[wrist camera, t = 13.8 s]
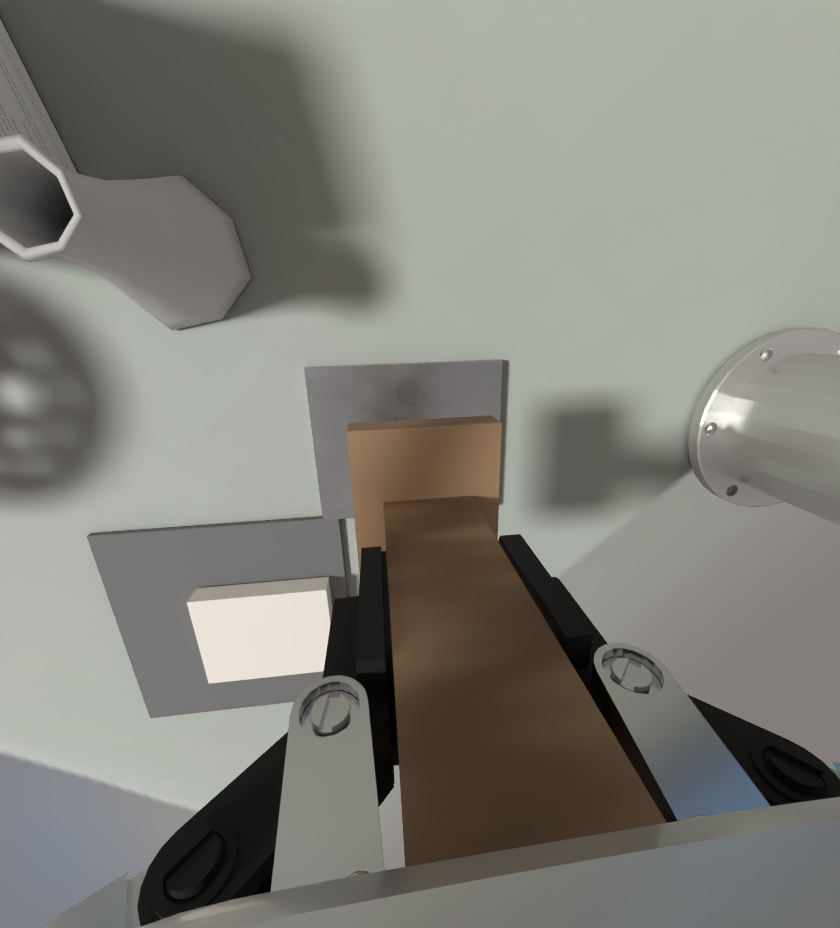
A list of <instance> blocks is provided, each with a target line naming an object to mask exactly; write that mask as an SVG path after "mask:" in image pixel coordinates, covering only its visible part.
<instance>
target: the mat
mask: <svg viewBox="0 0 840 928" xmlns="http://www.w3.org/2000/svg"><path fill="white" fill-rule="evenodd" d="M87 538H88V541H89V544H90V547H91V550H92V553H93V556H94V558H95V561H96V564H97V567H98V570H99V573H100V576H101V578H102V581H103V584H104V587H105V590H106V593H107V596H108V598H109V601H110V604H111V607H112V610H113V613H114V616H115V618H116V621H117V624H118V627H119V630H120V633H121V636H122V638H123V641H124V644H125V647H126V650H127V653H128V656H129V658H130V661H131V664H132V667H133V670H134V673H135V676H136V678H137V681H138V684H139V687H140V690H141V693H142V696H143V698H144V701H145V704H146V707H147V710H148V713H149V716H150V718H156V717H164V716H173V715H182V714H191V713H199V712H208V711H217V710H226V709H234V708H243V707H252V706H261V705H269V704H278V703H287V702H295V701H296V699H297V697H298V696H299V694H300V693H301V692H302V691H303V690H305V689H306V688H307V687H308V686H309V685H311V684H312V683H314V682H316V681H317V680H319V679H322V678H323V672H324V671H322V672H313V673H303V674H294V675H285V676H275V677H266V678H257V679H248V680H238V681H229V682H220V683H210V684H209V683H208V679H207V676H206V672H205V668H204V665H203V661H202V657H201V654H200V650H199V646H198V642H197V639H196V635H195V631H194V628H193V624H192V620H191V617H190V613H189V609H188V606H187V601H188V600H189V598H190V597H191V595H192V594H193V593H194V591H195V590H196V588H205V587H216V586H228V585H239V584H251V583H263V582H274V581H286V580H297V579H309V578H320V577H329V583H330V591H331V599H332V607H333V603H334V599H335V598H344V597H348V594H347V585H346V576H345V567H344V557H343V548H342V539H341V530H340V521H339V519H333V520H323V516H321V517H307V518H293V519H280V520H266V521H252V522H239V523H225V524H211V525H198V526H184V527H170V528H156V529H143V530H129V531H115V532H102V533H91V534H89V535H88V536H87Z"/></svg>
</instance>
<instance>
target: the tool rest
mask: <svg viewBox="0 0 840 928" xmlns="http://www.w3.org/2000/svg"><path fill="white" fill-rule="evenodd" d="M502 365H503V360H475V361H449V362H424V363H398V364H373V365H347V366H322V367H305V368H304V370H305V378H306V387H307V395H308V403H309V411H310V419H311V427H312V435H313V443H314V451H315V459H316V467H317V475H318V483H319V491H320V500H321V508H322V516H323V520H333V519H347V518H354V507H353V496H352V486H351V475H350V465H349V454H348V443H347V433H346V431H347V427H348V424H349V423H360V422H378V421H397V420H415V419H433V418H452V417H470V416H488V415H492V416H493V417H494V418H496V419H497V420H499V421H500V417H501V391H502Z"/></svg>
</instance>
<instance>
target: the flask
mask: <svg viewBox="0 0 840 928" xmlns="http://www.w3.org/2000/svg"><path fill="white" fill-rule="evenodd" d="M0 243H1V244H3V245H4V246H6V247H7V248H8V249H10V250H11V251H12V252H14V253H15V254H17V255H18V256H19V257H21V258H22V259H24V260H26V261H38V260H43V259H47V258H52V257H58V258H62V259H66V260H70V261H73V262H75V263H77V264H79V265H81V266H83V267H85V268H87V269H89V270H91V271H93V272H95V273H97V274H99V275H101V276H103V277H104V278H105V279H106V280H107V281H108V282H109V283H111V284H112V285H113V286H114V287H115V288H116V289H118V290H119V291H120V292H121V293H123V294H124V295H125V296H127V297H128V298H129V299H131V300H132V301H133V302H135V303H136V304H137V305H139V306H140V307H141V308H143V309H144V310H146V311H147V312H148V313H150V314H151V315H152V316H154V317H155V318H156V319H158V320H159V321H160V322H162V323H163V324H164V325H166V326H167V327H168V328H170V329H171V330H175V329H180V328H185V327H189V326H194V325H198V324H203V323H207V322H212V321H216V320H221V319H223V317H224V316H225V315H226V313H227V312H228V310H229V309H230V307H231V306H232V305H233V303H234V302H235V300H236V299H237V298H238V296H239V295H240V293H241V292H242V290H243V289H244V288H245V286H246V285H247V283H248V282H249V281H250V279H251V275H250V272H249V269H248V266H247V263H246V260H245V257H244V253H243V250H242V247H241V244H240V241H239V238H238V235H237V232H236V229H235V226H234V223H233V220H232V218H230V217H229V216H228V215H227V214H226V213H225V212H224V211H222V210H221V209H220V208H219V207H218V206H217V205H216V204H214V203H213V202H212V201H211V200H210V199H209V198H208V197H206V196H205V195H204V194H203V193H202V192H201V191H200V190H198V189H197V188H196V187H195V186H194V185H193V184H192V183H191V182H189V181H188V180H187V179H186V178H185V177H184V176H183V175H175V176H165V177H157V178H148V179H128V180H103V179H98V178H94V177H90V176H86V175H82V174H77V173H73V172H70V171H68V170H66V169H65V168H64V167H63V166H61V165H60V164H59V163H58V162H57V161H55V160H54V159H53V158H52V157H50V156H49V155H48V154H47V153H45V152H44V151H43V150H42V149H40V148H39V147H38V146H37V145H35V144H34V143H33V142H32V141H31V140H29V139H28V138H27V137H25V136H23V135H21V134H14V135H9V136H4V137H0Z"/></svg>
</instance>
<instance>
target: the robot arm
mask: <svg viewBox="0 0 840 928" xmlns="http://www.w3.org/2000/svg"><path fill="white" fill-rule="evenodd" d="M688 449H689V456H690V462H691V465H692V467H693V470H694V473H695V475H696V476H697V478H698V479H699V481H700V482H701V484H702V485H703V486H704V487H705V488H707V489H708V490H709V491H710V492H711V493H712V494H714V495H716V496H718V497H720V498H722V499H724V500H726V501H728V502H731V503H734V504H737V505H740V506H749V507H759V506H769V505H773V504H777V503H781V502H784V501H785V502H787V503H789V504H792V505H794V506H797V507H799V508H801V509H804V510H806V511H809V512H811V513H813V514H816V515H818V516H821V517H823V518H825V519H828V520H830V521H833V522H835V523H838V524H840V333H837V332H834V331H831V330H828V329H820V328H793V329H786V330H782V331H778V332H774V333H771V334H768V335H766V336H764V337H762V338H760V339H757V340H755V341H754V342H752V343H750V344H749V345H747V346H746V347H744V348H743V349H741V350H740V351H738V352H737V353H736V354H735V355H734V356H733V357H732V358H731V359H729V360H728V361H727V362H726V363H725V364H724V365H723V366H722V367H721V368H720V370H719V371H718V372H717V373H716V374H715V376H714V377H713V378H712V379H711V381H710V382H709V384H708V385H707V387H706V389H705V390H704V392H703V394H702V395H701V397H700V399H699V402H698V404H697V406H696V409H695V411H694V413H693V417H692V421H691V425H690V429H689V442H688ZM498 542H499V544H500V545H501V547H502V549H503V550H504V552H505V554H506V555H507V557H508V559H509V560H510V562H511V564H512V565H513V567H514V569H515V570H516V572H517V574H518V575H519V577H520V579H521V580H522V582H523V584H524V585H525V587H526V589H527V590H528V592H529V594H530V595H531V597H532V599H533V600H534V602H535V604H536V605H537V607H538V609H539V610H540V612H541V614H542V615H543V617H544V619H545V620H546V622H547V624H548V625H549V627H550V629H551V630H552V632H553V634H554V635H555V637H556V639H557V640H558V642H559V644H560V645H561V647H562V649H563V650H564V652H565V654H566V655H567V657H568V659H569V660H570V662H571V664H572V665H573V667H574V669H575V670H576V672H577V674H578V675H579V677H580V679H581V680H582V682H583V684H584V685H585V687H586V689H587V690H588V692H589V694H590V695H591V697H592V699H593V700H594V702H595V704H596V705H597V707H598V709H599V711H600V712H601V714H602V716H603V717H604V719H605V721H606V722H607V724H608V726H609V727H610V729H611V731H612V732H613V734H614V736H615V737H616V739H617V741H618V742H619V744H620V746H621V747H622V749H623V751H624V752H625V754H626V756H627V757H628V759H629V761H630V762H631V764H632V766H633V767H634V769H635V771H636V772H637V774H638V776H639V777H640V779H641V781H642V782H643V784H644V786H645V787H646V789H647V791H648V792H649V794H650V796H651V797H652V799H653V801H654V802H655V804H656V806H657V807H658V809H659V811H660V812H661V814H662V816H663V817H664V819H665V821H666V822H667V823H664V824H657V825H651V826H645V827H639V828H633V829H627V830H621V831H615V832H609V833H603V834H597V835H591V836H585V837H579V838H573V839H567V840H561V841H555V842H549V843H543V844H537V845H531V846H525V847H519V848H513V849H507V850H501V851H495V852H490V853H484V854H478V855H472V856H466V857H461V858H455V859H449V860H443V861H438V862H432V863H426V864H420V865H415V866H409V867H403V868H398V869H392V870H386V871H385V868H384V858H383V848H382V838H381V829H380V818H379V806H380V805H381V803H382V802H383V801H384V799H385V798H386V797H387V795H388V794H389V793H390V791H391V790H392V789H393V787H394V765H399V754H398V737H397V721H396V704H395V687H394V671H393V654H392V638H391V621H390V605H389V588H388V572H387V555H386V551H381V546H377V547H366V548H362V549H361V567H360V587H359V596H355V597H344V598H335V599H334V603H333V610H332V617H331V624H330V631H329V637H328V644H327V651H326V658H325V665H324V672H323V678H322V679H319V680H317V681H316V682H314V683H312V684H311V685H309V686H308V687H307V688H306V689H305V690H303V691H302V692H301V693H300V694H299V696H298V697H297V699H296V701H295V702H294V704H293V707H292V710H291V714H290V720H289V729H288V732H287V733H286V734H285V735H284V736H283V737H282V738H280V739H279V740H278V741H277V742H276V743H275V744H274V745H273V746H271V747H270V748H269V749H268V750H267V751H266V752H265V753H264V754H263V755H261V756H260V757H259V758H258V759H257V760H256V761H255V762H254V763H252V764H251V765H250V766H249V767H248V768H247V769H246V770H245V771H244V772H242V773H241V774H240V775H239V776H238V777H237V778H236V779H235V780H233V781H232V782H231V783H230V784H229V785H228V786H227V787H226V788H225V789H223V790H222V791H221V792H220V793H219V794H218V795H217V796H216V797H214V798H213V799H212V800H211V801H210V802H209V803H208V804H207V805H206V806H204V807H203V808H202V809H201V810H200V811H199V812H198V813H197V814H195V815H194V816H193V817H192V818H191V819H190V820H189V821H188V822H187V823H185V824H184V825H183V826H182V827H181V828H180V829H179V830H178V831H176V833H175V834H174V835H173V836H172V837H171V838H170V839H169V840H168V841H167V842H166V843H165V844H164V845H163V847H162V848H161V849H160V851H159V852H158V854H157V855H156V857H155V858H154V860H153V862H152V863H151V864H150V866H149V868H147V869H146V870H144V871H142V872H141V873H139V874H138V875H136V876H135V877H133V878H131V879H130V877H129V875H128V873H126V874H124V875H123V876H121V877H119V878H118V879H116V880H115V881H113V882H111V883H110V884H109V885H107V886H105V887H103V888H102V889H100V890H99V891H97V892H95V893H94V894H92V895H91V896H89V897H87V898H86V899H84V900H83V901H81V902H79V903H78V904H76V905H75V906H73V907H71V908H70V909H68V910H67V911H65V912H63V913H62V914H60V915H59V916H57V917H56V918H54V919H52V920H51V921H49V922H48V923H46V924H44V925H43V926H41V927H40V928H840V763H836V762H832V763H831V765H830V767H828V766H826V764H824V763H823V762H822V761H821V760H820V759H819V758H817V757H816V756H814V755H813V754H812V753H810V752H808V751H807V750H806V749H804V748H803V747H800V746H799V745H797V744H795V743H793V742H791V741H790V740H788V739H785V738H783V737H781V736H779V735H776V734H774V733H772V732H770V731H768V730H765V729H763V728H761V727H758V726H756V725H754V724H752V723H750V722H747V721H745V720H743V719H741V718H739V717H736V716H734V715H731V714H730V713H727V712H725V711H723V710H721V709H718V708H716V707H714V706H712V705H710V704H707V703H705V702H703V701H700V700H698V699H696V698H694V697H691V696H689V695H687V694H686V693H685V692H684V690H683V689H682V688H681V686H680V685H679V684H678V683H677V681H676V680H675V678H674V677H673V676H672V674H671V673H670V672H669V670H668V669H667V668H666V667H665V666H664V665H663V664H662V663H661V661H660V660H659V659H657V658H656V657H654V656H653V655H652V654H650V653H649V652H646V651H645V650H643V649H641V648H638V647H636V646H632V645H628V644H624V643H610V644H607V642H606V641H605V640H604V638H603V637H602V636H601V634H600V633H599V632H598V630H597V629H596V628H595V626H594V625H593V624H592V622H591V621H590V620H589V618H588V617H587V616H586V614H585V613H584V612H583V610H582V609H581V608H580V606H579V605H578V604H577V602H576V601H575V600H574V599H573V597H572V596H571V594H570V593H569V592H568V590H567V589H566V588H565V586H564V585H563V584H562V582H561V581H560V580H559V579H558V578H556V577H551V576H550V575H549V573H548V572H547V571H546V569H545V568H544V566H543V565H542V564H541V562H540V561H539V559H538V558H537V557H536V555H535V554H534V553H533V551H532V550H531V548H530V547H529V546H528V544H527V543H526V542H525V540H524V539H523V537H522V536H521V535H519V534H517V535H505V536H500V537H499V541H498Z"/></svg>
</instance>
